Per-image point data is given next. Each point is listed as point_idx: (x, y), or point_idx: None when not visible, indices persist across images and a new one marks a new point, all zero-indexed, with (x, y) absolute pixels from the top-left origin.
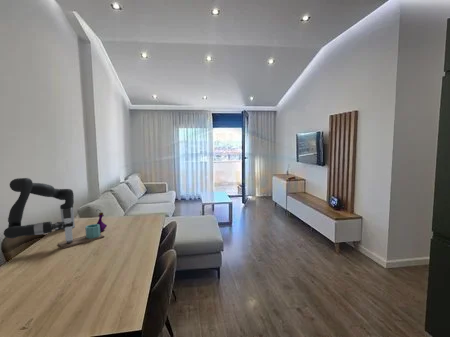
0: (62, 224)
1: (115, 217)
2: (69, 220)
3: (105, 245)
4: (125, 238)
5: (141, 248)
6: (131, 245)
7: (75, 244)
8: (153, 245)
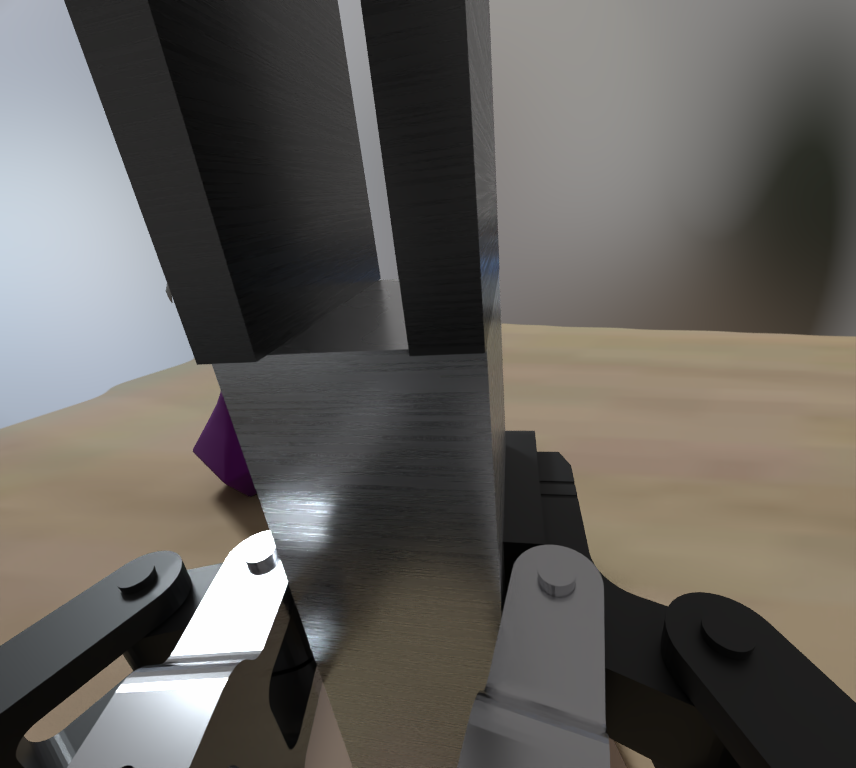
0: (589, 707)
1: (89, 404)
2: (501, 376)
3: (722, 473)
4: (590, 392)
5: (830, 359)
6: (759, 380)
7: (613, 744)
8: (777, 336)
